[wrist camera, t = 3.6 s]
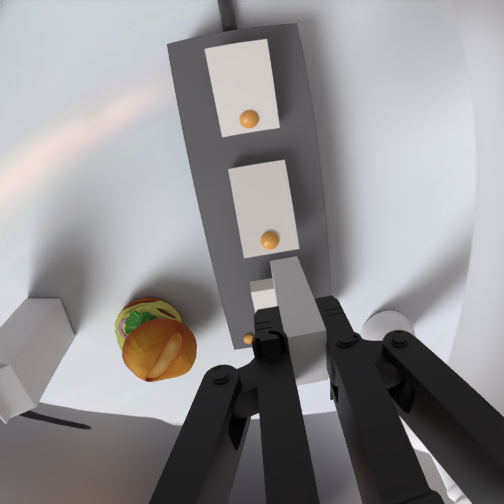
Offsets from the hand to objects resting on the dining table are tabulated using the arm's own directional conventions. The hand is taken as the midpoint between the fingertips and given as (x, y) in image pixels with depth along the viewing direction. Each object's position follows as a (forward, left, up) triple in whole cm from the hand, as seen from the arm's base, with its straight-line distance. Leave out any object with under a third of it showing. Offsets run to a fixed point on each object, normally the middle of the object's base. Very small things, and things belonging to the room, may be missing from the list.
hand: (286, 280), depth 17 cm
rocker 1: (-12, 0, -12) cm, 17 cm away
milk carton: (+11, -34, -19) cm, 41 cm away
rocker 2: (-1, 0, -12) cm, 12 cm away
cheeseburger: (+14, -16, -19) cm, 29 cm away
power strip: (-4, 0, -19) cm, 19 cm away
